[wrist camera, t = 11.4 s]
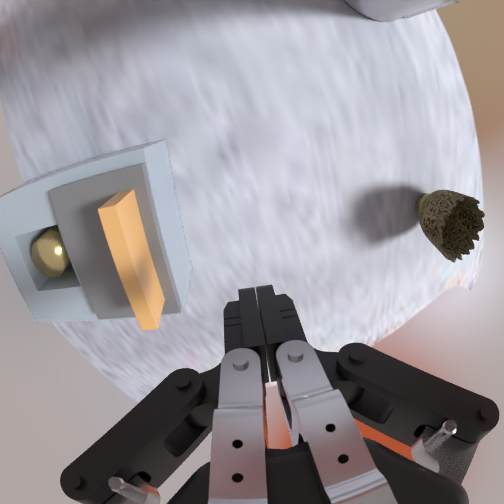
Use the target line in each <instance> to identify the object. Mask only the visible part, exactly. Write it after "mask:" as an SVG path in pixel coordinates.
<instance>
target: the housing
mask: <svg viewBox="0 0 504 504" xmlns="http://www.w3.org/2000/svg"><path fill="white" fill-rule="evenodd" d="M141 163H145V166H146V171H147V176H148V181H149V186H150V190H151V195H152V199H153V204H154V208H155V213H156V217H157V221H158V225H159V229H160V233H161V237H162V241H163V245H164V249H165V252H166V256H167V260H168V263H169V267H170V271H171V274H172V277H173V281H174V284H175V288H176V291H177V294H178V297H179V301H180V304H181V312H180V313H173V314H163V315H161V316H165V315H175V314H185V308H186V301H187V295H188V289H189V283H190V277H191V271H192V264H191V260H190V256H189V251H188V247H187V243H186V238H185V234H184V229H183V224H182V220H181V215H180V210H179V205H178V200H177V195H176V190H175V185H174V179H173V174H172V168H171V162H170V157H169V151H168V145H167V139H166V140H161V141H156V142H152V143H147V144H143V145H139V146H135V147H131V148H127V149H123V150H119V151H116V152H112V153H109V154H105V155H102V156H98V157H95V158H92V159H89V160H85V161H82V162H79V163H76V164H73V165H70V166H68V167H65V168H62V169H59V170H56V171H54V172H51V173H48V174H46V175H43V176H41V177H38V178H36V179H33V180H31V181H29V182H26V183H24V184H22V185H20V186H19V187H16V188H14V189H13V190H11V191H9V192H7V193H5V194H3V195H1V196H0V247H1V250H2V253H3V255H4V258H5V260H6V263H7V265H8V267H9V270H10V272H11V274H12V276H13V278H14V280H15V283H16V285H17V286H18V289H19V291H20V293H21V295H22V297H23V299H24V300H25V302H26V304H27V306H28V308H29V310H30V312H31V313H32V315H33V317H34V319H35V320H36V322H37V323H48V322H49V323H52V322H80V321H100V320H116V319H130V318H136V317H128V318H114V319H99V320H98V318H97V316H96V314H95V312H94V310H93V308H92V306H91V304H90V302H89V300H88V297H87V295H86V293H85V291H84V289H83V286H82V284H81V282H80V280H79V277H78V275H77V272H76V270H75V268H74V265H73V263H72V260H71V258H70V255H69V252H68V250H67V247H66V244H65V241H64V239H63V236H62V233H61V230H60V227H59V224H58V220H57V217H56V214H55V211H54V207H53V204H52V200H51V197H50V193H49V191H50V190H52V189H53V188H56V187H59V186H62V185H65V184H68V183H71V182H74V181H77V180H81V179H84V178H87V177H91V176H94V175H98V174H101V173H105V172H109V171H113V170H117V169H120V168H124V167H129V166H133V165H137V164H141ZM53 225H58V228H59V231H60V234H61V237H62V239H63V242H64V245H65V248H66V250H67V253H68V256H69V258H70V261H71V262H70V264H69V265H68V266H67V267H66V269H65V270H64V271H63V273H62V274H61V275H60V276H59V277H56V278H51V277H48V276H46V275H44V274H43V273H41V272H40V271H39V270H38V268H37V267H36V265H35V264H34V262H33V259H32V254H31V250H32V246H33V244H34V243H35V242H36V241H37V240H38V239H39V238H40V237H41V236H42V235H43V234H44V233H46V232H47V231H48V230H49V229H50V228H51V227H52V226H53Z"/></svg>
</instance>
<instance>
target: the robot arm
mask: <svg viewBox="0 0 504 504" xmlns="http://www.w3.org/2000/svg"><path fill="white" fill-rule="evenodd" d="M345 1H346V2H347V3H348V4H349V5H350V6H351V7H352V8H354V9H355V10H356V11H358V12H359V13H361V14H363V15H365V16H367V17H369V18H371V19H374V20H378V21H385V22H390V21H394V20H397V19H399V18H402V17H404V18H410V17H413V16H415V15H418V14H421V13H424V12H427V11H431V10H434V9H437V8H441V7H444V6H448V5H451V4H455V3H458V2H459V1H460V0H345ZM238 292H239V301H233V302H228V303H227V305H226V307H225V308H224V342H225V355H224V357H223V359H222V361H221V363H220V364H219V365H218V366H216V367H215V368H213V369H211V370H208V371H206V372H203V373H200V374H199V373H198V372H197V371H195V370H193V369H189V368H182V369H178V370H176V371H174V372H172V373H171V374H169V375H168V376H167V377H166V378H165V379H164V380H163V381H162V382H161V383H160V384H159V385H158V386H157V387H156V388H155V389H154V390H152V391H151V392H150V393H149V394H148V395H147V396H146V397H145V398H144V399H143V400H142V401H141V402H140V403H139V404H137V405H136V406H135V407H134V408H133V409H132V410H131V411H130V412H129V413H128V414H127V415H125V416H124V417H123V418H122V419H121V420H120V421H119V422H118V423H117V424H116V425H114V426H113V427H112V428H111V429H110V430H109V431H108V432H107V433H105V435H103V436H102V437H101V438H100V439H99V440H98V441H96V442H95V443H94V444H93V445H92V446H91V447H90V448H88V449H87V450H86V451H85V452H84V453H83V454H82V455H80V456H79V457H78V458H77V459H76V460H75V461H73V462H72V463H71V464H70V465H69V466H67V467H66V468H65V469H64V471H63V472H62V474H61V478H60V484H61V487H62V490H63V491H64V493H65V494H66V495H67V496H68V497H70V498H71V499H73V500H75V501H78V502H80V503H82V504H160V495H159V492H158V490H157V488H158V487H160V486H161V484H163V483H164V481H166V480H167V478H168V477H169V476H170V475H171V474H172V473H173V472H174V471H175V470H176V469H177V468H178V467H179V466H180V465H181V464H182V463H183V462H184V461H185V460H186V459H187V458H188V457H189V455H190V454H191V453H192V452H193V451H194V450H195V449H196V448H197V447H198V446H199V444H200V443H201V442H202V441H203V440H204V439H205V438H206V436H208V434H209V433H210V432H211V431H212V442H211V443H212V444H211V460H210V462H208V463H206V464H205V465H203V466H202V467H200V468H199V469H198V470H197V471H196V472H195V473H194V474H193V475H192V476H191V477H190V478H189V479H188V481H187V482H186V483H185V484H184V485H183V486H182V487H181V488H180V490H179V491H178V492H177V493H176V494H175V495H174V496H173V497H172V498H171V499H170V500H169V502H168V503H167V504H469V500H468V495H467V493H466V491H465V489H464V488H463V486H462V485H461V483H462V481H463V479H464V477H465V475H466V472H467V470H468V468H469V466H470V463H471V461H472V459H473V456H474V454H475V451H476V449H477V445H478V443H479V441H480V440H481V439H482V438H483V437H484V436H485V435H487V434H488V433H489V432H490V431H491V430H492V429H493V428H494V427H495V426H496V424H497V423H498V420H499V409H498V407H497V405H496V404H495V403H494V401H492V400H491V399H488V398H486V397H484V396H481V395H479V394H476V393H474V392H471V391H469V390H466V389H464V388H462V387H459V386H457V385H454V384H452V383H450V382H447V381H445V380H443V379H440V378H438V377H436V376H433V375H431V374H429V373H427V372H424V371H422V370H420V369H417V368H415V367H413V366H411V365H408V364H406V363H404V362H402V361H399V360H397V359H395V358H393V357H391V356H389V355H387V354H384V353H382V352H379V351H378V350H375V349H373V348H371V347H369V346H367V345H365V344H362V343H350V344H347V345H345V346H343V347H342V348H341V349H340V350H339V352H324V351H319V350H317V349H315V348H313V347H312V346H311V345H310V344H309V343H308V342H307V340H306V337H305V334H304V331H303V328H302V326H301V323H300V320H299V317H298V314H297V311H296V310H295V306H294V303H293V300H292V299H291V298H289V297H288V296H287V295H286V294H281V295H275V293H274V289H273V286H272V285H266V286H259V287H256V293H257V299H256V294H255V288H254V287H252V288H245V289H238ZM257 301H258V305H257ZM266 357H267V358H266ZM267 362H268V367H269V373H270V378H271V382H273V381H277V385H278V390H279V399H280V402H281V405H282V409H283V412H284V415H285V419H286V422H287V425H288V428H289V432H290V436H291V441H292V446H293V447H290V448H288V449H269V442H268V430H267V417H266V416H267V414H266V400H265V397H266V387H265V383H267V382H269V376H268V367H267ZM354 418H355V419H357V420H359V421H360V422H362V423H364V424H366V425H368V426H370V427H372V428H374V429H375V430H378V431H379V432H381V433H384V434H385V435H387V436H389V437H391V438H393V439H395V440H397V441H399V442H402V443H404V444H406V445H408V446H410V447H411V454H412V457H413V459H414V461H416V462H418V463H419V464H418V463H416V462H413V461H411V460H410V459H408V458H406V457H404V456H402V455H400V454H398V453H396V452H394V451H392V450H391V449H389V448H387V447H385V446H383V445H382V444H380V443H378V442H376V441H374V440H371V439H368V438H365V437H362V435H361V433H360V431H359V429H358V427H357V425H356V423H355V420H354Z"/></svg>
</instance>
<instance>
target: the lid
mask: <svg viewBox="0 0 504 504" xmlns="http://www.w3.org/2000/svg"><path fill="white" fill-rule="evenodd" d="M49 193H50V197H51V200H52V204H53V207H54V211H55V214H56V217H57V220H58V224H59V227H60V230H61V233H62V236H63V239H64V241H65V244H66V247H67V250H68V252H69V255H70V258H71V260H72V263H73V265H74V268H75V270H76V272H77V275H78V277H79V280H80V282H81V284H82V286H83V289H84V291H85V293H86V295H87V297H88V300H89V302H90V304H91V306H92V308H93V310H94V312H95V314H96V316H97V318H98V320H99V319H114V318H128V317H136V318H137V320H138V322H139V325H140V327H141V329H142V330H155V329H158V325H159V321H160V317H161V315H163V314H173V313H180V312H181V304H180V301H179V297H178V294H177V291H176V288H175V284H174V281H173V277H172V274H171V271H170V267H169V263H168V260H167V256H166V252H165V249H164V245H163V241H162V237H161V233H160V229H159V225H158V221H157V217H156V213H155V208H154V204H153V199H152V195H151V190H150V186H149V181H148V176H147V171H146V166H145V163H141V164H137V165H133V166H129V167H124V168H120V169H117V170H113V171H109V172H105V173H101V174H98V175H94V176H91V177H87V178H84V179H81V180H77V181H74V182H71V183H68V184H65V185H62V186H59V187H56V188H53V189H52V190H50V191H49Z"/></svg>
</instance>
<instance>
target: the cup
mask: <svg viewBox="0 0 504 504" xmlns="http://www.w3.org/2000/svg"><path fill="white" fill-rule="evenodd" d="M479 203H480V202H479V201H478V200H476V199H475V198H473V197H469V196H466V195H463V194H460V193H457V192H454V191H449V190H438V191H435V192H433V193H431V194H425V195H423V196H422V197H421V198H420V199H419V200H418V202H417V206H416V212H417V215H418V217H419V219H420V225H421V228H422V230H423V232H424V234H425V235H426V237H427V238H428V239H429V240H430V241H431V243H432V244H433V245H434V246H435V247H436V248H437V249H438V250H439V251H440V252H441V253H442V254H443V255H444V257H445V258H446V259H448V260H451V261H452V262H455V260H456V258H458V259H460V260H462V255H461V254H463V255H464V254H467V255H468V254H470V252H469V250H472V249H474V243H473V241H472V239H473V240H477V241H479V235H477V232H478V231H481V230H483V228H484V223H483V220H482V218H483V217H484V216H485V214H484V212H483V211H481V210H479V209H478V205H477V204H479Z"/></svg>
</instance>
